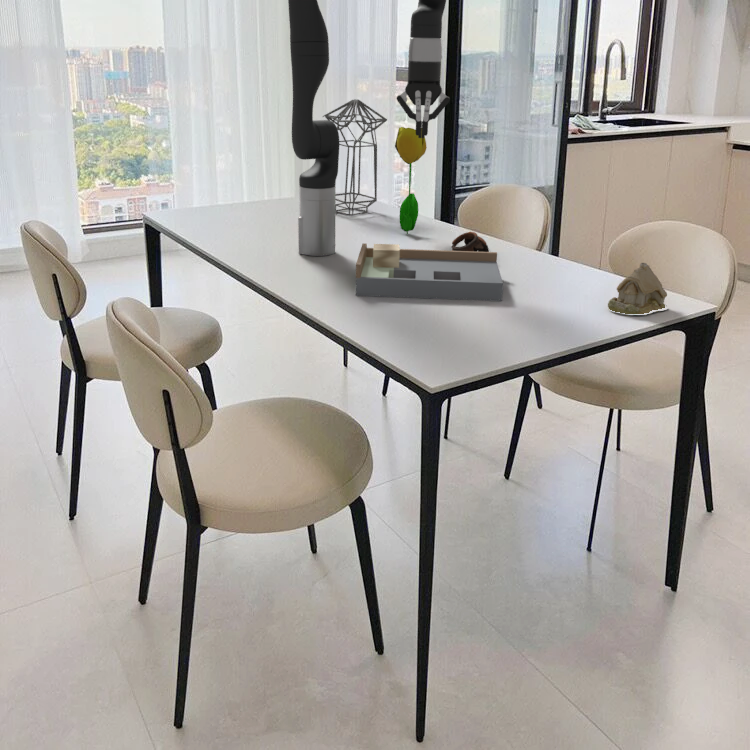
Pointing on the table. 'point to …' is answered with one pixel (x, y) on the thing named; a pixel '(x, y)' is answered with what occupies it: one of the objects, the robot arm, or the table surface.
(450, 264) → the board
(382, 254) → the maple block
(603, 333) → the table surface
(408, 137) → the flower
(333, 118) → the geometric lantern
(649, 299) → the ceramic model
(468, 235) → the brown curved piece
